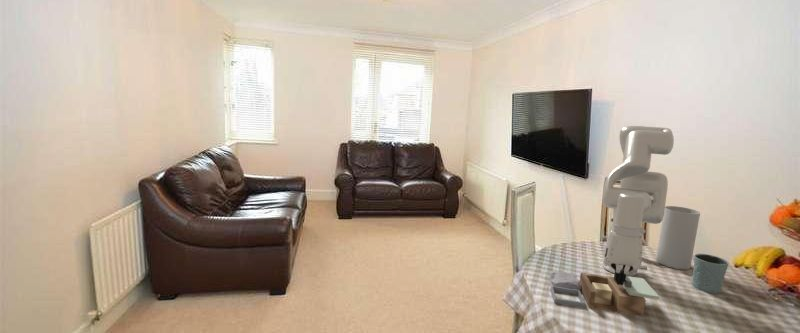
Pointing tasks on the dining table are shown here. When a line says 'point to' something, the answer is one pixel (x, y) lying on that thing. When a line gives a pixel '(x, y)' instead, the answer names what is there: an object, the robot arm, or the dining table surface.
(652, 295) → the sliding lid
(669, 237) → the cylinder vase
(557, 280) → the stone block
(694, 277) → the teal plant pot
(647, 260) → the dining table surface
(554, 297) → the gray tray
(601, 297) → the birch block
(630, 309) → the brown open box
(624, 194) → the robot arm
